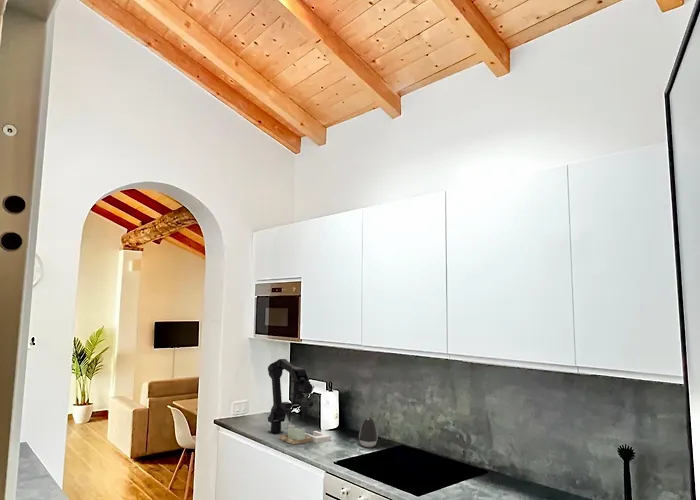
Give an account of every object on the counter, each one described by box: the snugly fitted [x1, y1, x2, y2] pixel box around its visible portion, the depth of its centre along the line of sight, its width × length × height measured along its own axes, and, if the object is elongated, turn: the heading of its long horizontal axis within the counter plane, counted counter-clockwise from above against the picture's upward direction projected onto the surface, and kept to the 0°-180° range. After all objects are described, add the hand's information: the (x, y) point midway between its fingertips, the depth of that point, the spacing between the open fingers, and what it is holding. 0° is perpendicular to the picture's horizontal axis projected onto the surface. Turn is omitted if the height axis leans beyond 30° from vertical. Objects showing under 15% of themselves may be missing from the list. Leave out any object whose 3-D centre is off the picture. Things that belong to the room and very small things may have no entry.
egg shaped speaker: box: [358, 416, 379, 448], centre depth 279 cm, size 10×10×15 cm
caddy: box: [287, 424, 306, 440], centre depth 284 cm, size 12×5×7 cm, turn 38°
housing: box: [305, 430, 332, 444], centre depth 289 cm, size 14×10×2 cm
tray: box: [278, 433, 313, 446], centre depth 284 cm, size 14×12×2 cm
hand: (296, 420), depth 285 cm, fingers open, 9 cm apart
